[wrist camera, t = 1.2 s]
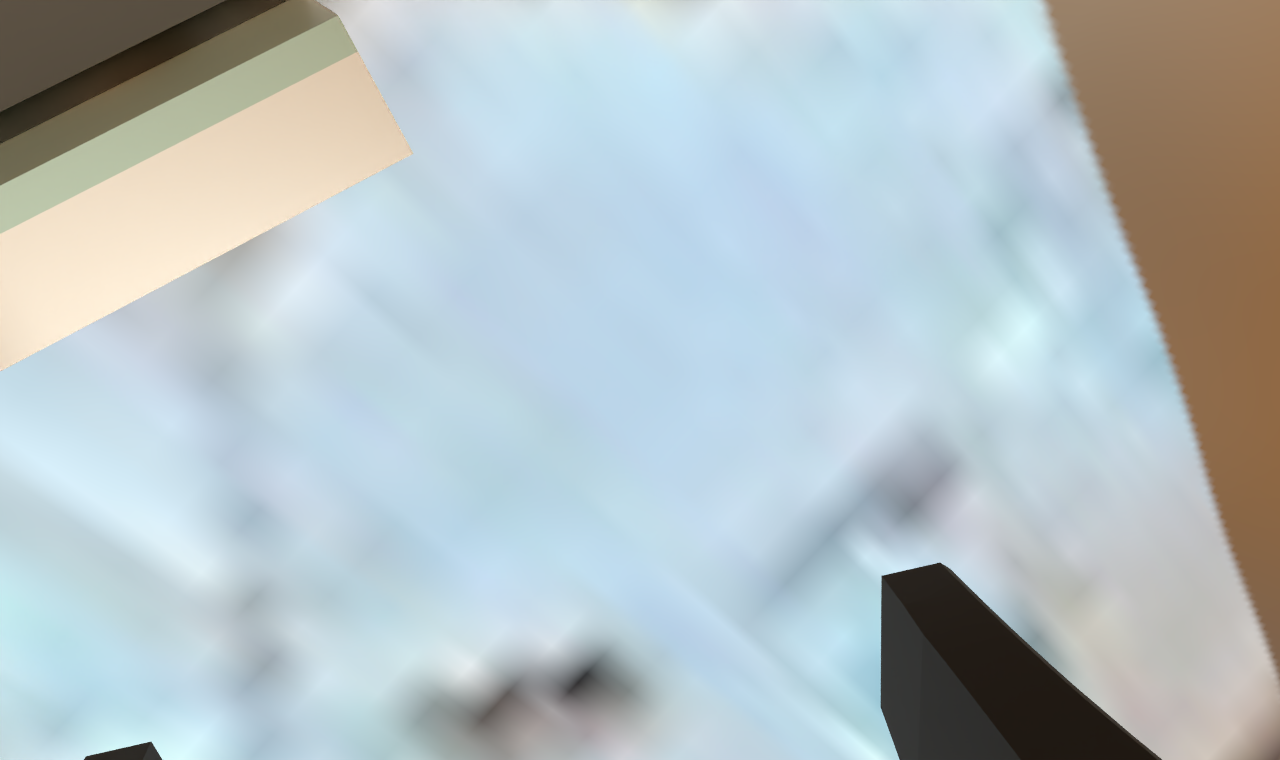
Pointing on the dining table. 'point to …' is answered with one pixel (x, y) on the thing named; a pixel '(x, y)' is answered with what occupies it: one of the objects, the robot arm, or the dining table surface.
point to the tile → (182, 169)
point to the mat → (75, 37)
